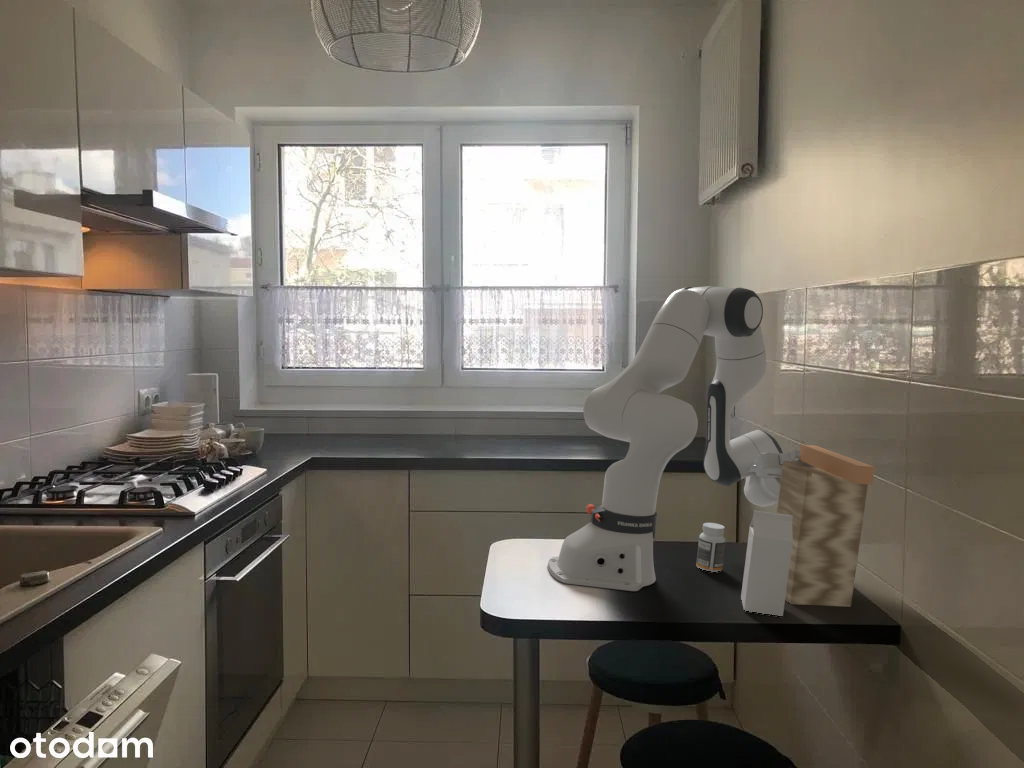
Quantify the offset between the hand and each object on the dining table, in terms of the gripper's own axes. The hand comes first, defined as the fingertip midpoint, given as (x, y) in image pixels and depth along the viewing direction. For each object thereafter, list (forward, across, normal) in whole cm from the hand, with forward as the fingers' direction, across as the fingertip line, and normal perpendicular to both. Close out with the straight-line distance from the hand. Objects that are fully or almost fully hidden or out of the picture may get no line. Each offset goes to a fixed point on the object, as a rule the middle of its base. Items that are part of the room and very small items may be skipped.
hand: (818, 455), depth 165 cm
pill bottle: (-19, -19, +22) cm, 35 cm away
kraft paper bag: (-7, -3, +29) cm, 30 cm away
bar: (+5, 0, +5) cm, 7 cm away
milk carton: (0, -17, +33) cm, 37 cm away
